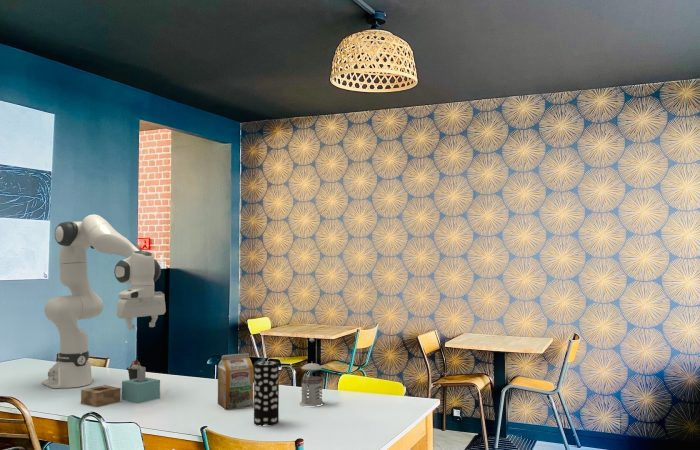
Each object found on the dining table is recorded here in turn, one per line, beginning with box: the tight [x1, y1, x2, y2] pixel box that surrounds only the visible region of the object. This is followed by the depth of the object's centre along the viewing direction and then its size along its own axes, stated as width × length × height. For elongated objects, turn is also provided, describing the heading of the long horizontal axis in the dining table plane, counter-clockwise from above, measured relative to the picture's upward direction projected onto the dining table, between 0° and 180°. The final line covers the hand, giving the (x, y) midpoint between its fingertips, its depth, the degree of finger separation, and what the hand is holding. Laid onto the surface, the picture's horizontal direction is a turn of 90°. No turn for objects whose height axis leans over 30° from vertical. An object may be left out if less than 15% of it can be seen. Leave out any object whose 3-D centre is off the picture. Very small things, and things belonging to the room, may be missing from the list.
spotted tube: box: [253, 360, 280, 427], centre depth 207 cm, size 8×8×20 cm
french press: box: [298, 337, 325, 407], centre depth 232 cm, size 10×12×25 cm
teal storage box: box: [121, 376, 161, 404], centre depth 236 cm, size 10×10×8 cm
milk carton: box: [217, 352, 254, 411], centre depth 231 cm, size 11×11×19 cm
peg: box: [137, 366, 147, 382], centre depth 236 cm, size 3×3×12 cm
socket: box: [80, 384, 122, 408], centre depth 231 cm, size 10×10×6 cm
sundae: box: [125, 356, 142, 380], centre depth 251 cm, size 7×7×15 cm
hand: (141, 328), depth 237 cm, fingers open, 8 cm apart
